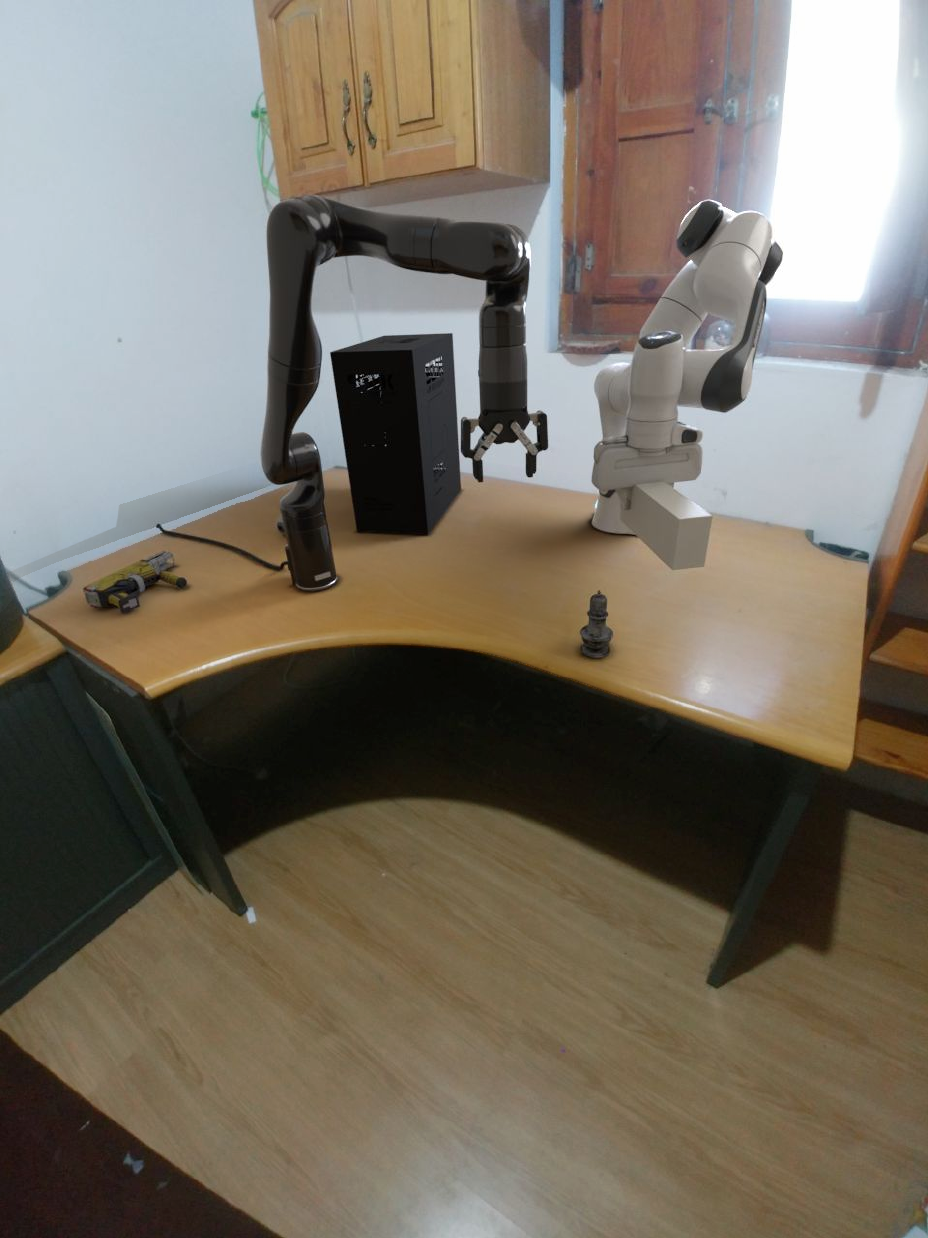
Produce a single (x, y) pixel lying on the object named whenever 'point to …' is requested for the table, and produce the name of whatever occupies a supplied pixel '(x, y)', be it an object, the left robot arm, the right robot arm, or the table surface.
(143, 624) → the table surface
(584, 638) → the dark grey chess piece
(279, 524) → the eyeball
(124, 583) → the toy gun
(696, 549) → the bar
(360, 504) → the cardboard box
